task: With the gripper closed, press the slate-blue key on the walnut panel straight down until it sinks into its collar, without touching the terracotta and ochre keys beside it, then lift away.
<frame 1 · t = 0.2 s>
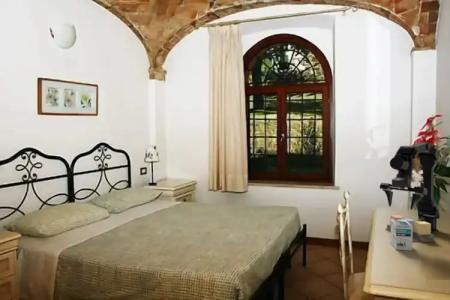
hand: (400, 208, 170), 15 cm above the table, tool pointing down, fingers open, 9 cm apart
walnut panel: (408, 235, 183), on the table
light bulb box: (400, 247, 164), on the table
ochre key: (422, 227, 175), point 5 cm above the table, slide at 0.0 cm
terracotta key: (397, 221, 188), point 5 cm above the table, slide at 0.0 cm
slate blue key: (407, 224, 181), point 5 cm above the table, slide at 0.0 cm
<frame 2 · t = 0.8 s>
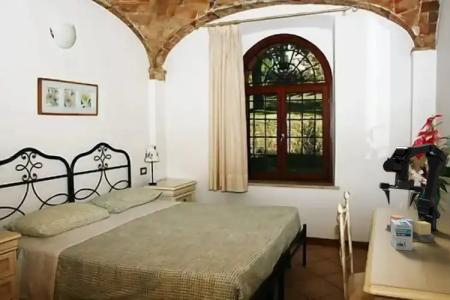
hand: (399, 205, 183), 14 cm above the table, tool pointing down, fingers open, 9 cm apart
nothing on the table moved.
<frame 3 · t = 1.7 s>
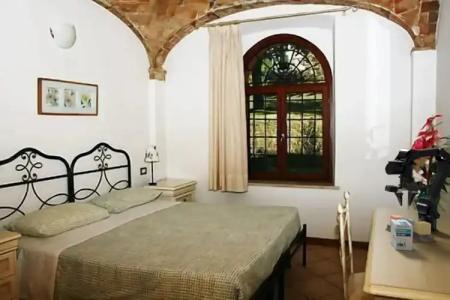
hand: (405, 206, 189), 13 cm above the table, tool pointing down, fingers open, 4 cm apart
nothing on the table moved.
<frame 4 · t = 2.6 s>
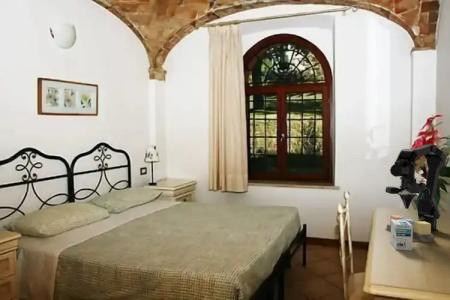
hand: (406, 208, 182), 13 cm above the table, tool pointing down, fingers closed
nothing on the table moved.
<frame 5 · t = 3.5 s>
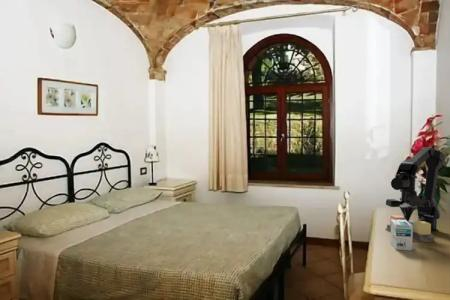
hand: (407, 221, 181), 7 cm above the table, tool pointing down, fingers closed, pressing on slate blue key
slate blue key: (407, 226, 181), point 5 cm above the table, slide at 0.7 cm, touching gripper
everything else where it was.
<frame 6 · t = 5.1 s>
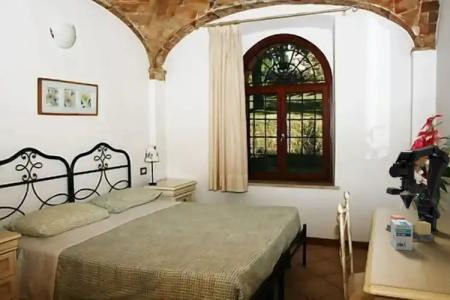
hand: (407, 208, 185), 12 cm above the table, tool pointing down, fingers closed
slate blue key: (406, 228, 181), point 4 cm above the table, slide at 1.7 cm
everything else where it was.
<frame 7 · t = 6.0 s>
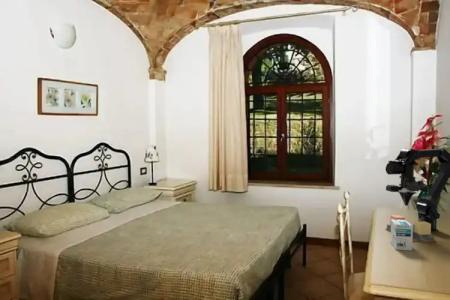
hand: (406, 205, 191), 13 cm above the table, tool pointing down, fingers closed
nothing on the table moved.
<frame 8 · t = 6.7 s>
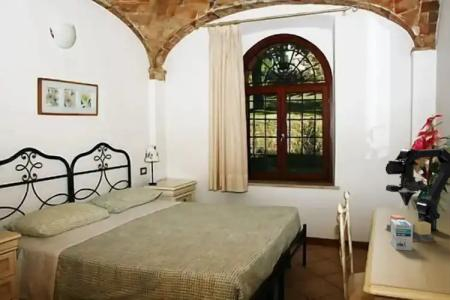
hand: (406, 205, 191), 13 cm above the table, tool pointing down, fingers closed
nothing on the table moved.
at the end: slate blue key slide at 1.7 cm; terracotta key slide at 0.0 cm; ochre key slide at 0.0 cm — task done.
